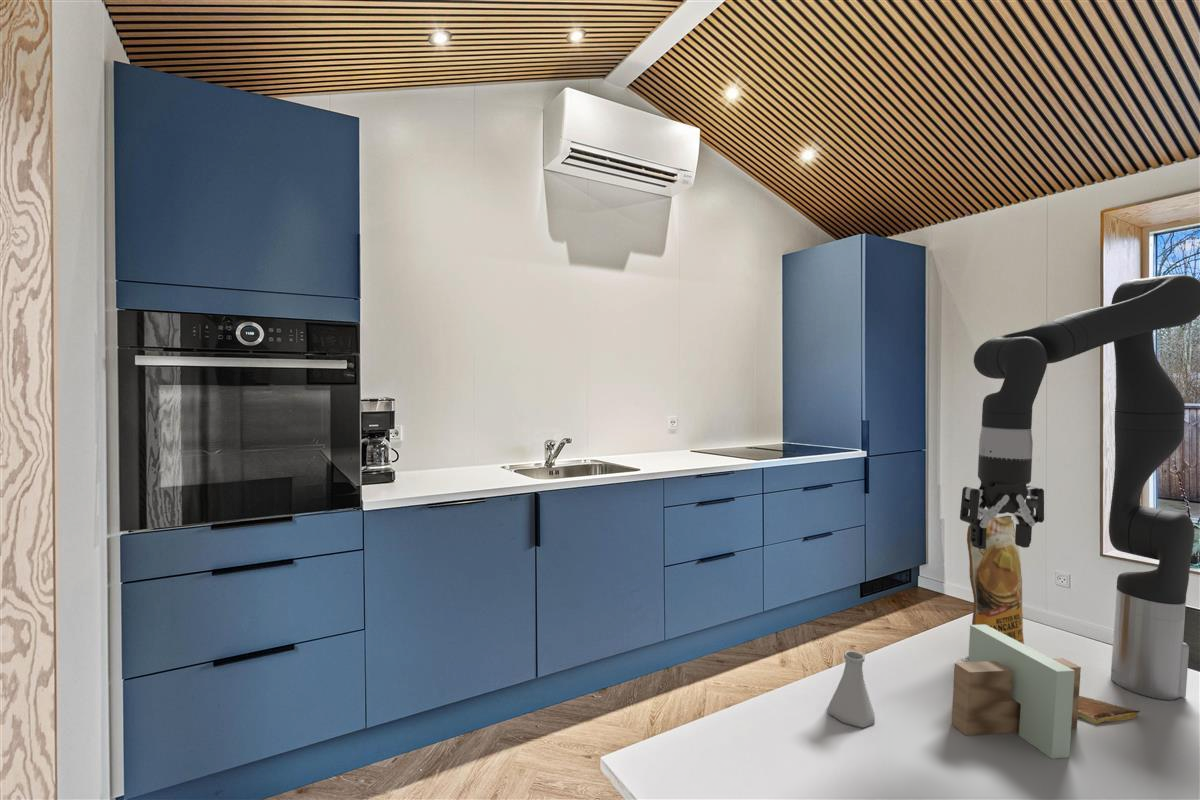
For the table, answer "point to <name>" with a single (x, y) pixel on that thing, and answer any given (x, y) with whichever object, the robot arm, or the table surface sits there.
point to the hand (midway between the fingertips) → (1000, 547)
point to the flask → (852, 694)
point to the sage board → (1031, 688)
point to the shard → (1102, 711)
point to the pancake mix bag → (997, 579)
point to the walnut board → (993, 698)
